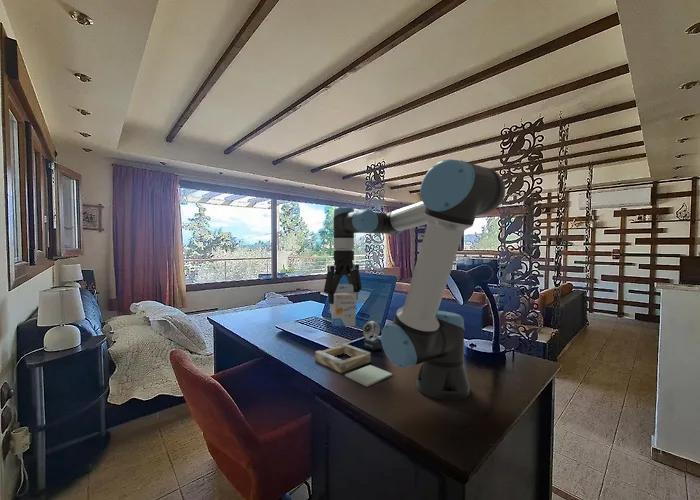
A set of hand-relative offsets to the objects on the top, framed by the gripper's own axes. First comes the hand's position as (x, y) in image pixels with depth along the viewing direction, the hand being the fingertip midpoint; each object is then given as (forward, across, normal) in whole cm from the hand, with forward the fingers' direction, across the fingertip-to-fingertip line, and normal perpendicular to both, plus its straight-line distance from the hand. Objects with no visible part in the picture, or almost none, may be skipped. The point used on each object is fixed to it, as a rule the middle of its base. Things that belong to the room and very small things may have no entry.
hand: (343, 310), depth 111 cm
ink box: (+5, 0, 0) cm, 5 cm away
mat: (+19, +2, +15) cm, 24 cm away
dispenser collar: (+19, 0, 0) cm, 19 cm away
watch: (+19, -19, -3) cm, 27 cm away
